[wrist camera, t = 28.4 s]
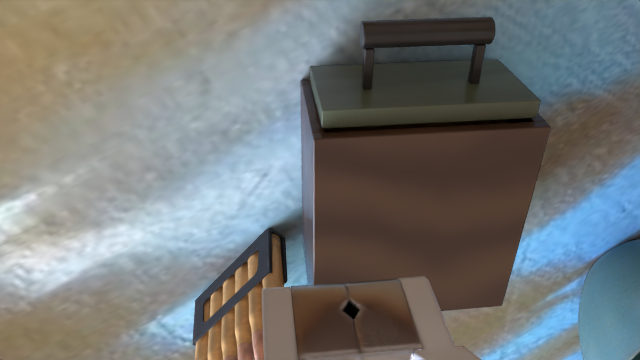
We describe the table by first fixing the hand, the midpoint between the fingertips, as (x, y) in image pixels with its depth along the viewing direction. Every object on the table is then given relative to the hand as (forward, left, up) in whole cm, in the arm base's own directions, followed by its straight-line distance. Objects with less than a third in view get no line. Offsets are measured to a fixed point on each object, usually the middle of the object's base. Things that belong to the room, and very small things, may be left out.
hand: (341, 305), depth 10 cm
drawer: (+9, -12, -28) cm, 32 cm away
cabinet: (+9, -16, -29) cm, 34 cm away
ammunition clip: (-4, -26, -29) cm, 39 cm away
